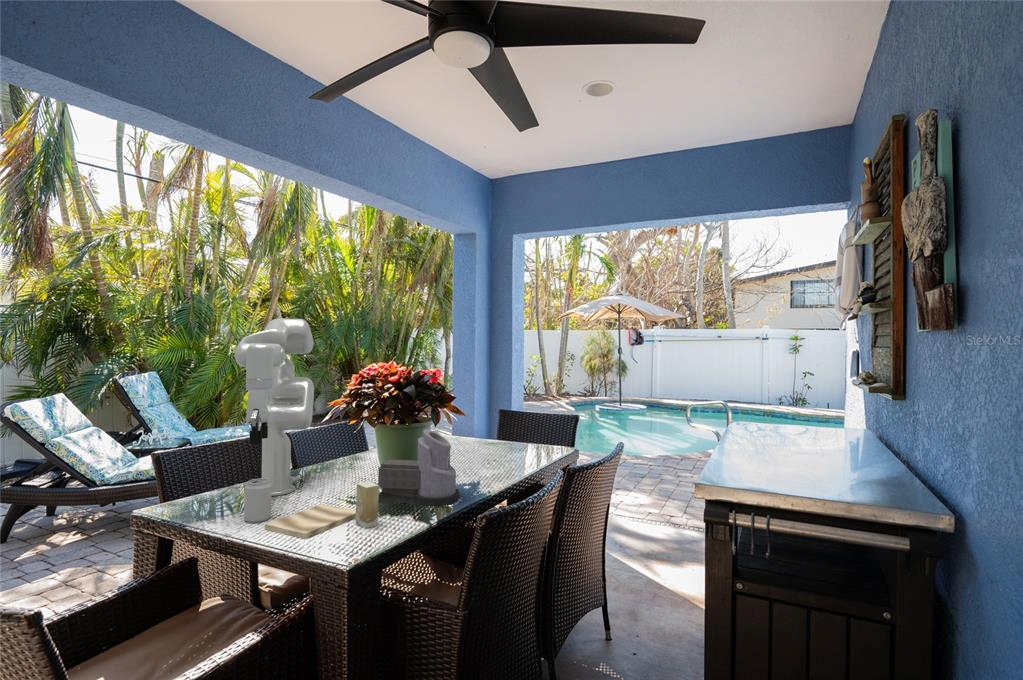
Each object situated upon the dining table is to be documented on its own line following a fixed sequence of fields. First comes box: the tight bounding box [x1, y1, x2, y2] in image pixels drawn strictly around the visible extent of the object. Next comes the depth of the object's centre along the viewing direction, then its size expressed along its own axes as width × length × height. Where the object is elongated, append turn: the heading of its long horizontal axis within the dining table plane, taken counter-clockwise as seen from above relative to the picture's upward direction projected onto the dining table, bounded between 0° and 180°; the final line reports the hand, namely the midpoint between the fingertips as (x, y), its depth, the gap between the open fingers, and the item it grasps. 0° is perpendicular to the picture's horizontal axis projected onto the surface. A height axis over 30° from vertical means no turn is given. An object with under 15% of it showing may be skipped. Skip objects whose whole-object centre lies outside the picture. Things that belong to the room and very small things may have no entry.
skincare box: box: [355, 480, 380, 529], centre depth 162 cm, size 6×4×12 cm
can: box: [243, 477, 272, 524], centre depth 165 cm, size 8×8×12 cm
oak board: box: [264, 503, 356, 540], centre depth 163 cm, size 22×16×2 cm
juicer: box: [377, 428, 461, 507], centre depth 188 cm, size 30×16×24 cm, turn 84°
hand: (258, 441), depth 165 cm, fingers open, 9 cm apart
